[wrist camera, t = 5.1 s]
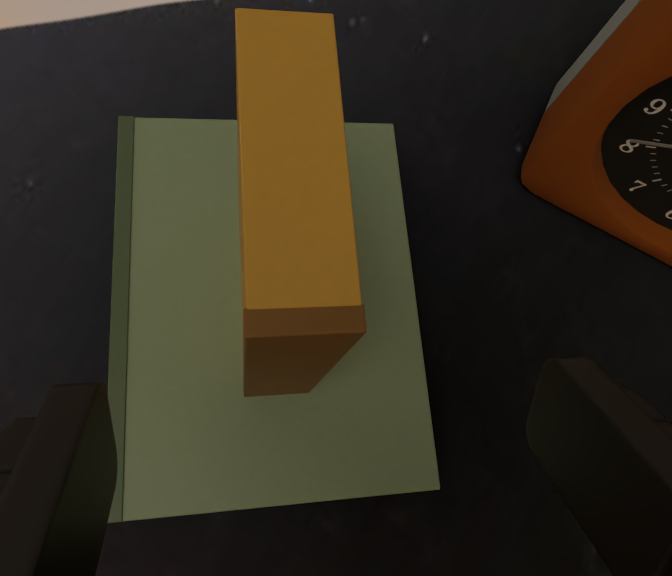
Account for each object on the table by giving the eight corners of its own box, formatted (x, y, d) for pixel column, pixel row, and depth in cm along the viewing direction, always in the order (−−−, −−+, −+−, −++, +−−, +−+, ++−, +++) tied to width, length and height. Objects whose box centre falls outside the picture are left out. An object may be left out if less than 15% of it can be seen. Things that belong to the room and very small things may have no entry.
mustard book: (243, 397, 26) (244, 338, 13) (237, 201, 28) (233, 6, 16) (309, 393, 26) (367, 332, 14) (296, 201, 29) (335, 13, 17)
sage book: (117, 516, 26) (102, 523, 23) (129, 147, 32) (118, 115, 29) (421, 486, 29) (441, 489, 26) (381, 151, 34) (393, 122, 31)
